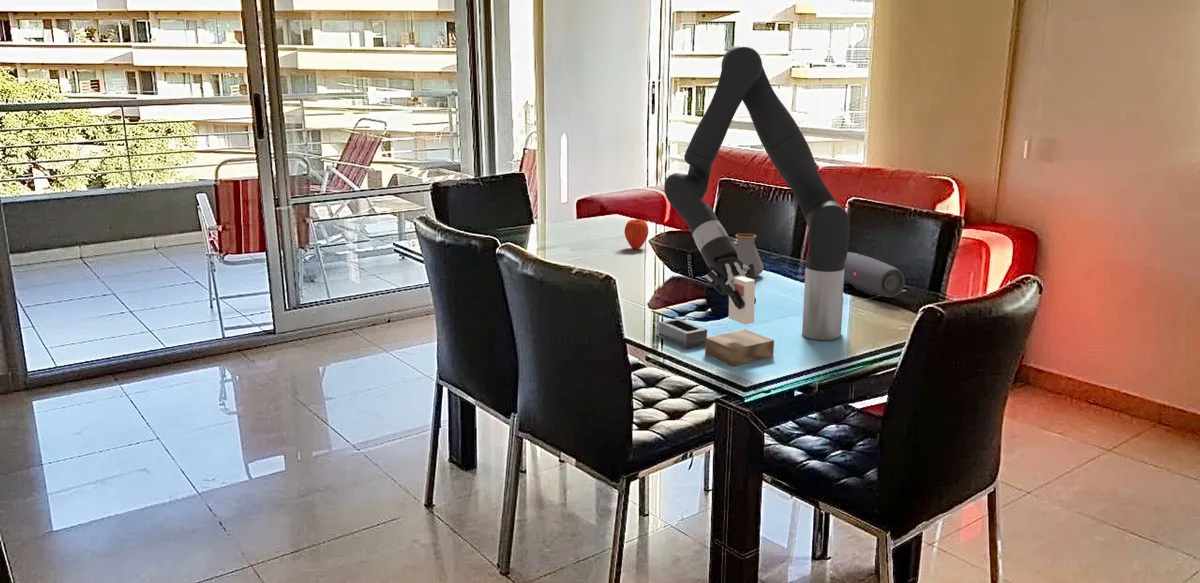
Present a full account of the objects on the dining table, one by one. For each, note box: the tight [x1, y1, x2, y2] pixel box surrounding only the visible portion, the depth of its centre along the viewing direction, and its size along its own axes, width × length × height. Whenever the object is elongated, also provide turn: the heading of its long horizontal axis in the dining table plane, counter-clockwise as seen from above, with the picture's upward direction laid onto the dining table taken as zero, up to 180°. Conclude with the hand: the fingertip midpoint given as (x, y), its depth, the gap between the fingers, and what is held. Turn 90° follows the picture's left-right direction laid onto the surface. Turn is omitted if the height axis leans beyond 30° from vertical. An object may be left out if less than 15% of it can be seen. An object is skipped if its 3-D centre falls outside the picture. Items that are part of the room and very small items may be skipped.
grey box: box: [655, 317, 708, 350], centre depth 226 cm, size 7×12×4 cm, turn 32°
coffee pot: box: [732, 233, 764, 278], centre depth 284 cm, size 21×12×15 cm, turn 108°
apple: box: [624, 218, 649, 250], centre depth 325 cm, size 9×8×11 cm
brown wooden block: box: [704, 328, 775, 367], centre depth 214 cm, size 12×10×4 cm
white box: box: [728, 275, 756, 325], centre depth 211 cm, size 3×6×10 cm, turn 31°
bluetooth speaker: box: [844, 251, 906, 298], centre depth 267 cm, size 23×9×10 cm, turn 18°
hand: (747, 305), depth 210 cm, fingers closed on white box, 2 cm apart
